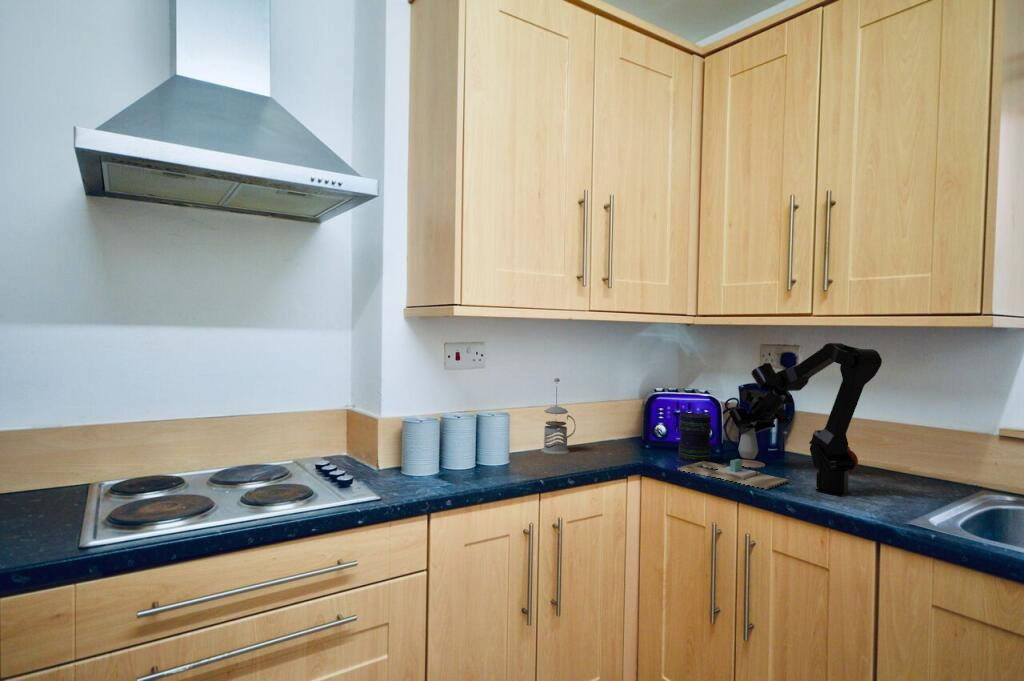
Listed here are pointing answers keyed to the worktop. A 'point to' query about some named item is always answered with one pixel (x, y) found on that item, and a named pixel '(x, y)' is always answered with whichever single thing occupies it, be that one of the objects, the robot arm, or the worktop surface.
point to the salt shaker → (748, 444)
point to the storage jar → (694, 437)
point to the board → (755, 480)
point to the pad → (752, 464)
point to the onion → (853, 456)
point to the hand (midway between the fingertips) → (746, 432)
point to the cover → (737, 469)
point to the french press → (556, 431)
